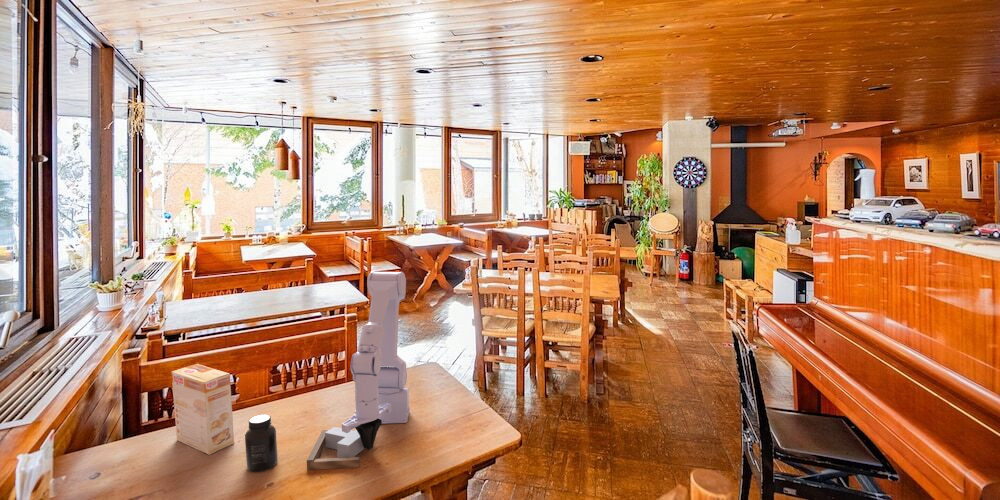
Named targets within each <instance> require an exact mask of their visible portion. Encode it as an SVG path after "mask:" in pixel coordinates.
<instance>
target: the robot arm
mask: <svg viewBox="0 0 1000 500" xmlns="http://www.w3.org/2000/svg"><path fill="white" fill-rule="evenodd" d="M367 275H368V276H367V280H366V281H367V282H366V287H367V289H368V294H369V296H370V297H371V301H370V307H369V313H368V321H367V323H366V324H364V325H363V326H362V329H361V333H360V336H359V342H358V347H357V350H356V352H354V353H353V354H352V356H351V359H350V372H351V375H352V382H354V389H355V390H354V392H355V393H354V395H355V397H354V399H355V411H354V414H353V415H351V417H350V418H348V419H347V420H346V421H344V422H343V423H341V428H342V431H343V432H345V433H349V432H350V430H352V431H353V429H355V430H357V432H358V433H359V435H360V438H361V441H362V444H363V447H364V448H365V449H366V450H367V451H369V450H372V449H373V448H374V444H375V440H376V438H377V434H378V431H379V429H380V427H381V426H382V424H384V425H385V424H403V423H405V424H406V423H408V419H409V413H410V400H409V399H410V391H409V388H408V387H406V385H407V381H408V370H407V363H406V361H405V360H404V359H402V358H401V357H400V356H399V355H398V339H399V338H398V337H399V334H398V333H399V314H400V313H399V312H400V311H399V307H400V303H401V301H402V300H404V299H405V298H406V293H407V292H406V290H407V278H406V275H405V273H404V272H403V271H374V270H372V271H370V273H369V274H367Z"/></svg>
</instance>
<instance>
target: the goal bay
mask: <svg viewBox="0 0 1000 500" xmlns="http://www.w3.org/2000/svg"><path fill="white" fill-rule="evenodd" d="M328 430H329V429H324V430H322V431H321V432H320V434H319V436H318V438H317V440H316V442H315V443H314V445H313V447H312V449H311V451H310V453H309V455H308V457H307V459H306V470H307V471H313V470H314V471H315V470H330V469H331V470H332V469H349V468H350V469H352V468H354V469H355V468H359V467H360V465H361V459H360V458H361V457H360V456H354V457H349V458H338V457H334V458H333V457H330V458H329V457H327V458H320V457H321V455H322V453H323V451H324V449H325V448H326V443H325V432H327V431H328Z"/></svg>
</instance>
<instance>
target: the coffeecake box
mask: <svg viewBox="0 0 1000 500" xmlns="http://www.w3.org/2000/svg"><path fill="white" fill-rule="evenodd" d="M170 373H171V382H172V384H171V385H172V395H173V407H174V419H175V433H176V434H175V435H176V440H177V441H178V442H180V443H182V444H184V445H187V446H189V447H190V448H191V447H192V448H194V449H195V450H197V451H200V452H202V453H204V454H206V455H208V456H209V455H212V454H214V453H216V452H218V451H220V450H222V449H225V448H227V447H229V446H231V445H233V444H235V437H234V436H235V435H234V419H233V406H232V403H233V401H232V389H231V388H232V387H231V373H229V372H225V371H222V370H218V369H216V368H212V367H208V366H206V365H203V364H199V363H195V364H192V365H188V366H185V367H182V368H179V369H175V370H172V371H171V372H170Z"/></svg>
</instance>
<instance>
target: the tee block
mask: <svg viewBox="0 0 1000 500" xmlns="http://www.w3.org/2000/svg"><path fill="white" fill-rule="evenodd" d="M327 430H328V431H327V432H325V443H326V445H325V448H327V449H328V448H329V449H333V450H336V451H337V452H336V453H337V454H336V455H337V457H336V458H349V457H357V455H358V454H359V453H361V452H362V451H363V450H364V449H365V448H364V447H363V444H362V441H361V438H360V435H359V433H358V432H357V430H356V429H355V430H353V429H352V430H350V432H349V433H345V432H343V431H342V427H337V426H333V427H332V428H330V429H327Z"/></svg>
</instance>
